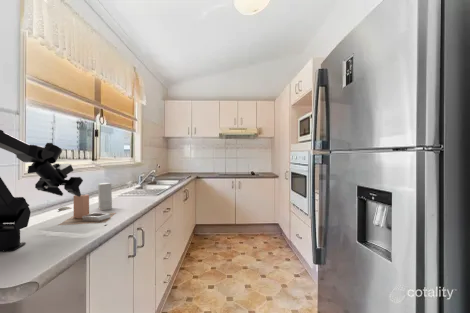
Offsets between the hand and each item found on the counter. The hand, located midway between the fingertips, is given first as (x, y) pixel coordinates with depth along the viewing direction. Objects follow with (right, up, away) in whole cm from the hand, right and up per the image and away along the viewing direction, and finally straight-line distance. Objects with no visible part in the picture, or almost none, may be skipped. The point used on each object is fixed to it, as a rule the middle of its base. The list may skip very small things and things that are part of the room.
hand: (71, 195), depth 109 cm
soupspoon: (-17, -13, +18) cm, 28 cm away
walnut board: (+6, -12, +3) cm, 14 cm away
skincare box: (+2, -12, +25) cm, 28 cm away
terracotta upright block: (+1, -11, +5) cm, 12 cm away
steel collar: (+10, -11, +1) cm, 15 cm away
